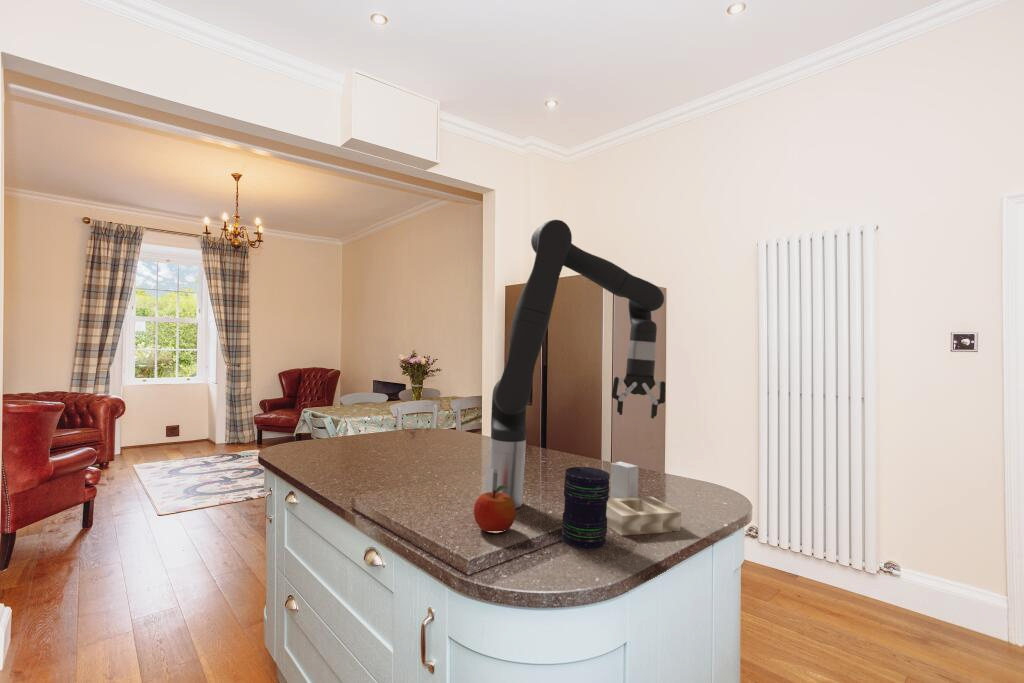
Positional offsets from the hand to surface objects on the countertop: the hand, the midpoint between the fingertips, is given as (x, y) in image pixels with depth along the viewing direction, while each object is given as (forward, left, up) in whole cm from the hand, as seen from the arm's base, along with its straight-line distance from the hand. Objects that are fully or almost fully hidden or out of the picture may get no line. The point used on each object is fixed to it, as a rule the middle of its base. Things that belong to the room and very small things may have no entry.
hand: (636, 416), depth 139 cm
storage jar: (-26, -22, -24) cm, 41 cm away
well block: (-8, -15, -24) cm, 29 cm away
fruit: (-44, -13, -24) cm, 51 cm away
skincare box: (-6, -5, -24) cm, 25 cm away
